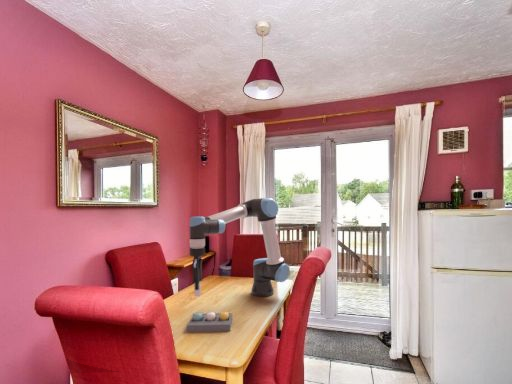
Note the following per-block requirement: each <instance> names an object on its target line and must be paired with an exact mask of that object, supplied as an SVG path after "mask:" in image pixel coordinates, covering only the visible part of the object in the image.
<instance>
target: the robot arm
mask: <svg viewBox="0 0 512 384" xmlns="http://www.w3.org/2000/svg"><path fill="white" fill-rule="evenodd" d="M278 213H279V206H278V203H277V202H276V200H275V199H273V198H269V197H261V198H253V199H249V200H246V201H244V202H242V203H239V204H238V205H237V206H235V207H232V208H230V209H227V210H223V211H220V212H218V213H214V214H212V215H208V216H207V217H205V216H191V217H190V218H189V240H188V243H189V256H190V257H193V259H192V263H191V266H192V284H193V287H194V288H193V292H194V293H193V294H194V295H193V296H194V297H201V295H202V281H203V278H202V276H203V275H202V274H203V258H202V256H205V255H206V248H205V246H206V235H216V234H218V235H219V234H223V233H224V232H225V230H226V224H228V223H231V222H234V221H236V220H238V219H241V218H242V219H247V218H250V217H253V218H254V217H255V218H257V222H258V223H260V225H261V230H262V236H263V237H262V238H263V240H264V241H263V242H264V247H265V251H266V257H263V258H262V257H261V258H257V259H254V260H253V265H252V268H253V272H252V273H253V282H252V285H251V286H252V287H251V290H250V292H251V296H254V297H260V298H261V297H270V296H273V295H274V293H275V291H274V290H275V289H274V287H273V284H272V281H274V282H277V283H284V282H286V280H288V278H289V276H290V272H291V271H290V266H289V265H288V263H285V258H284V257H283V256H281V249H280V244H279V239H278V233H277V228H276V227H277V226H276V223H275V221H276V219H277V215H278Z"/></svg>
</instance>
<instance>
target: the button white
mask: <svg viewBox="0 0 512 384" xmlns="http://www.w3.org/2000/svg"><path fill="white" fill-rule="evenodd" d="M215 313H216V312H214V311H208V312H206V313H205V314H206V320H207V321H214V320H215Z"/></svg>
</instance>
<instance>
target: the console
mask: <svg viewBox="0 0 512 384" xmlns="http://www.w3.org/2000/svg"><path fill="white" fill-rule="evenodd" d="M220 313H221V312H215V320H214V321H207V320H206V314H207V313H202V320H201V321H193V315H192V316H191V318H190V320H189V322H188V323H187V324H186V332H187V333H203V332H205V333H206V332H209V333H210V332H211V333H212V332H230V331H231V328H232V323H233V312H228V313H229V319H228V320H227V321H220Z"/></svg>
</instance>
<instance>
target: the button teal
mask: <svg viewBox="0 0 512 384" xmlns="http://www.w3.org/2000/svg"><path fill="white" fill-rule="evenodd" d="M192 314H193V315H192V316H193V321H201V320H202V314H203V313H202V312H201V311H198V312H194V313H192Z"/></svg>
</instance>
